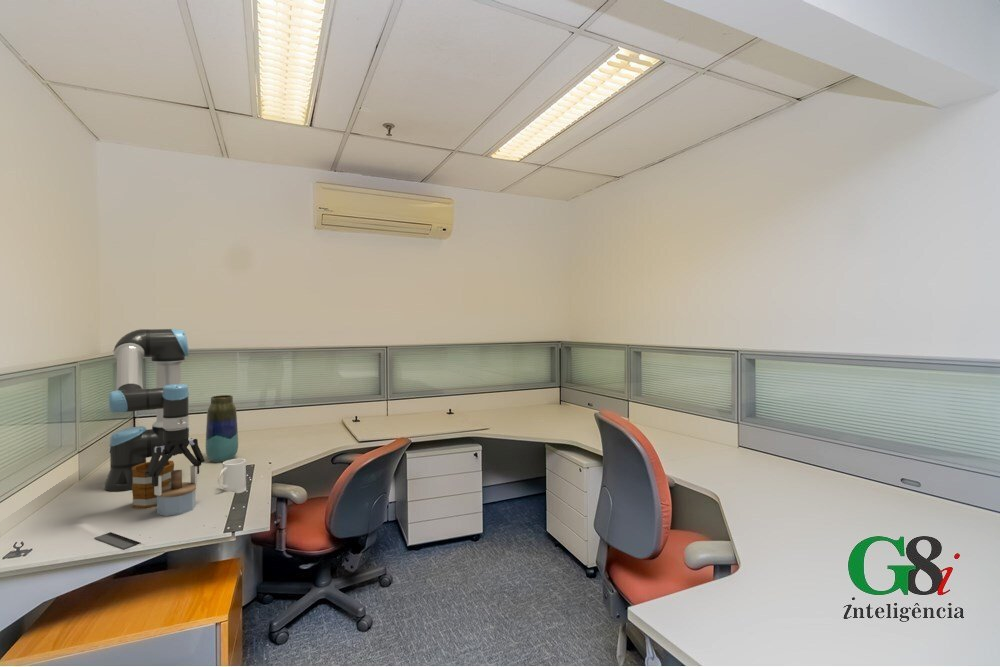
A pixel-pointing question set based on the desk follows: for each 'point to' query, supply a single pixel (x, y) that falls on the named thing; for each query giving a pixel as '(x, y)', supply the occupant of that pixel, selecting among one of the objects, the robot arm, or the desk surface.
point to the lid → (177, 486)
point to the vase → (221, 429)
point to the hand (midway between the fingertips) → (176, 489)
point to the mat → (117, 540)
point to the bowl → (176, 504)
